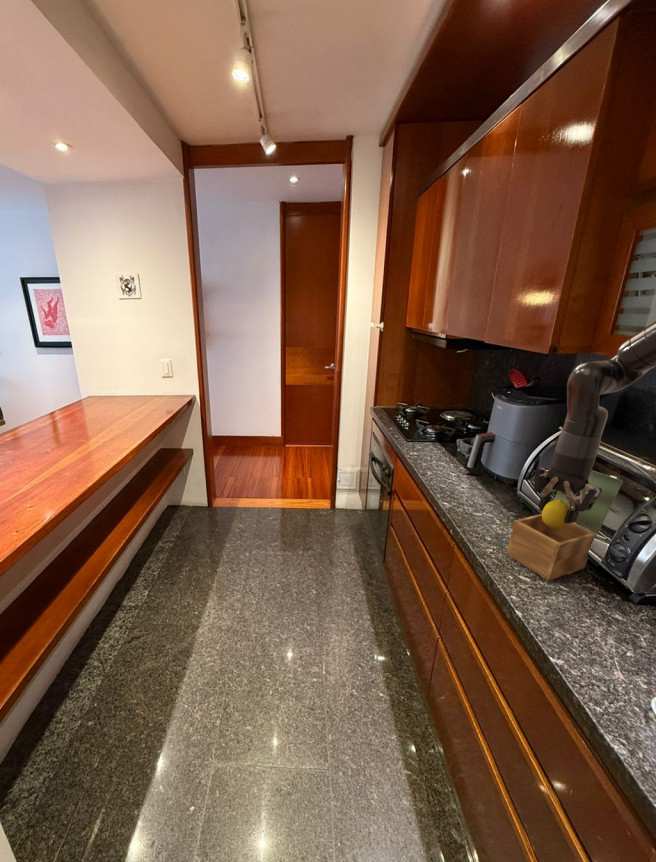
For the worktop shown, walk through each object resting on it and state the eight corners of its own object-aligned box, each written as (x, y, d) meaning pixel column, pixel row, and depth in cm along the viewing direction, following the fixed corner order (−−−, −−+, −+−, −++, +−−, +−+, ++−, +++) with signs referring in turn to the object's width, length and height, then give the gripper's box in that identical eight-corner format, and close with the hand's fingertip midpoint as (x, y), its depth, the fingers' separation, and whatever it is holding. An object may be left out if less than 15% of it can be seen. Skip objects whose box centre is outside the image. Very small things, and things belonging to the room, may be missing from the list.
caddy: (548, 581, 92) (560, 544, 88) (505, 554, 102) (514, 520, 98) (584, 569, 96) (597, 534, 92) (539, 544, 106) (549, 511, 102)
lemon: (533, 525, 96) (541, 497, 93) (548, 521, 98) (556, 493, 95) (555, 537, 91) (564, 507, 88) (570, 532, 93) (580, 502, 90)
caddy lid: (621, 480, 87) (623, 480, 88) (569, 462, 98) (571, 463, 98) (596, 532, 92) (598, 532, 92) (549, 510, 102) (551, 510, 102)
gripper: (622, 459, 82) (597, 528, 88) (555, 439, 94) (538, 501, 101) (599, 464, 80) (575, 534, 86) (533, 443, 92) (517, 506, 99)
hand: (555, 516), depth 93 cm, fingers closed on lemon, 5 cm apart
